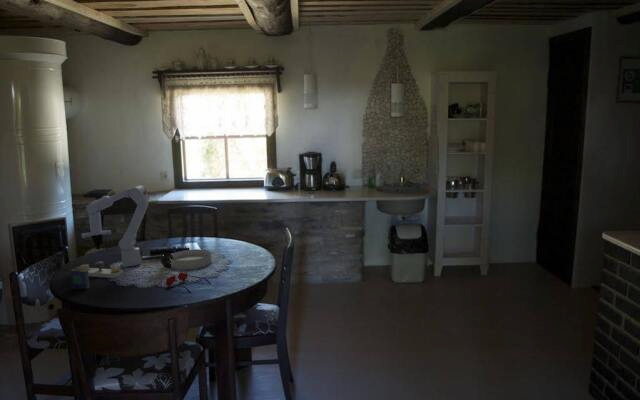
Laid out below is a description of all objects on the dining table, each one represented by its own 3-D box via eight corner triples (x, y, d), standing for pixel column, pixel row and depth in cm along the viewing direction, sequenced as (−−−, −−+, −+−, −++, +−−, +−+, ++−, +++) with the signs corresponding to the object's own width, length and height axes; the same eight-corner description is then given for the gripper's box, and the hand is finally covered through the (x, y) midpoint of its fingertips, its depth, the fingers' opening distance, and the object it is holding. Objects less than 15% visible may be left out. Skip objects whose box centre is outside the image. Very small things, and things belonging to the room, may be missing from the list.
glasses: (186, 279, 249) (185, 269, 248) (211, 284, 241) (210, 274, 240) (164, 288, 237) (163, 278, 236) (190, 293, 229) (189, 283, 228)
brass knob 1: (89, 270, 264) (88, 263, 263) (90, 272, 260) (89, 265, 260) (80, 272, 262) (80, 264, 261) (81, 274, 258) (80, 266, 258)
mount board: (123, 273, 260) (123, 269, 259) (114, 278, 253) (114, 274, 253) (86, 271, 265) (86, 267, 265) (77, 275, 258) (77, 271, 258)
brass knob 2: (119, 272, 259) (118, 265, 259) (120, 274, 256) (119, 267, 255) (110, 274, 257) (110, 266, 257) (112, 276, 254) (111, 268, 253)
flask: (91, 287, 239) (88, 266, 237) (86, 290, 236) (84, 268, 234) (74, 286, 242) (72, 265, 240) (70, 288, 239) (67, 267, 237)
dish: (161, 267, 270) (160, 258, 269) (186, 256, 290) (186, 248, 289) (195, 271, 261) (194, 262, 260) (219, 259, 281) (219, 251, 281)
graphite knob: (103, 268, 261) (102, 260, 261) (104, 270, 258) (104, 262, 257) (95, 269, 259) (94, 262, 259) (96, 271, 256) (95, 264, 255)
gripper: (81, 227, 264) (84, 252, 267) (111, 223, 272) (113, 248, 274) (80, 225, 270) (82, 249, 273) (109, 221, 278) (111, 245, 280)
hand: (98, 248), depth 274 cm, fingers closed
